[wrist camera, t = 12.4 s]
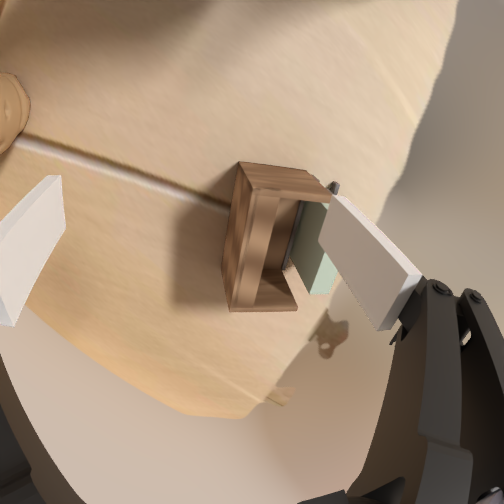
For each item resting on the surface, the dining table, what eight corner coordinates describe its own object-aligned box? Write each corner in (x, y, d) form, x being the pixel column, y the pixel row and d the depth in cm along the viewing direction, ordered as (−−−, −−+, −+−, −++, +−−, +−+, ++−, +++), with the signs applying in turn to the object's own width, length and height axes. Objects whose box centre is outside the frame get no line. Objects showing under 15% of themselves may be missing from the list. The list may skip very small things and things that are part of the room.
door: (307, 188, 44) (336, 219, 36) (326, 191, 45) (356, 221, 37) (289, 254, 50) (309, 294, 42) (306, 255, 51) (328, 293, 43)
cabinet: (238, 161, 39) (253, 188, 31) (338, 176, 43) (371, 203, 35) (221, 268, 49) (229, 312, 41) (307, 271, 53) (328, 309, 45)
